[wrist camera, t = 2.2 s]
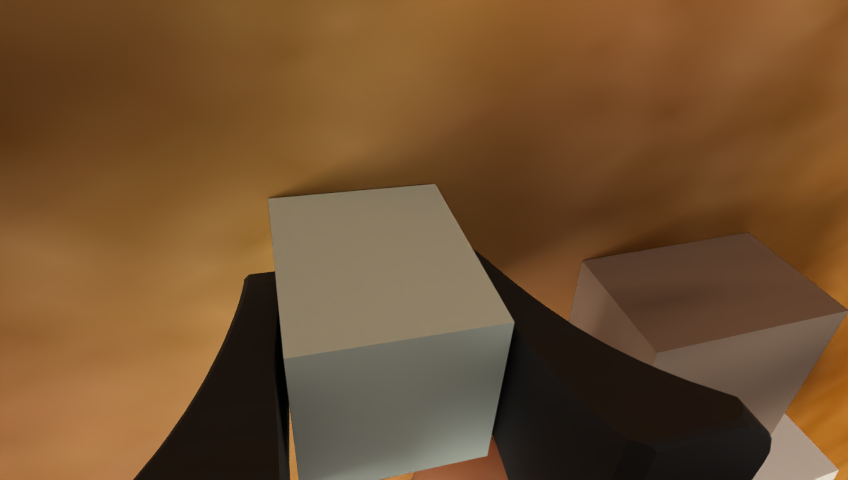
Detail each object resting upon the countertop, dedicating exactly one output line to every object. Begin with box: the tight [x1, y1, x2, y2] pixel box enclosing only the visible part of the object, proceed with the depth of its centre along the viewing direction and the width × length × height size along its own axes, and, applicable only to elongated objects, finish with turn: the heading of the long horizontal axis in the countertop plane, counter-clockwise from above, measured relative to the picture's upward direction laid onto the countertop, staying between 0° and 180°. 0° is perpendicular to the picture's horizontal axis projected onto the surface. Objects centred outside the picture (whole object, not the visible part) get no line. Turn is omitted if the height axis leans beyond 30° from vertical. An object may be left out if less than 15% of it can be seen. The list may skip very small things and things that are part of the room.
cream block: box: [752, 413, 838, 480], centre depth 22 cm, size 4×4×5 cm
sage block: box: [268, 184, 515, 480], centre depth 13 cm, size 4×4×5 cm
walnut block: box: [568, 232, 848, 436], centre depth 18 cm, size 6×6×4 cm
